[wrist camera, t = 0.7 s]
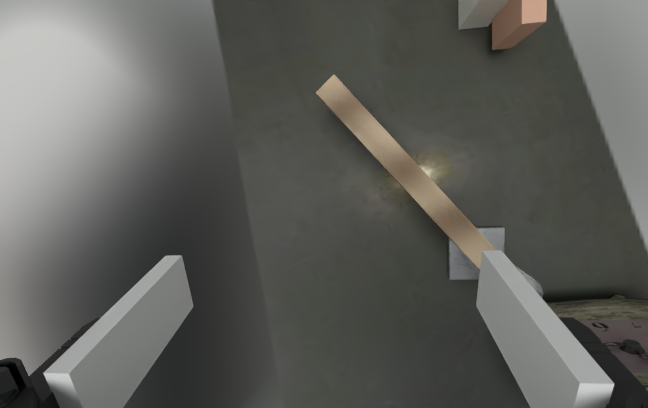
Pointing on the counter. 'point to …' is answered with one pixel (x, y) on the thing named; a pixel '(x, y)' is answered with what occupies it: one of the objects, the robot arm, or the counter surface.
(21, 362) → the robot arm
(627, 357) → the tabletop clock
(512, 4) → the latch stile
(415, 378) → the counter surface
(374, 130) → the gate
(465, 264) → the hinge post
